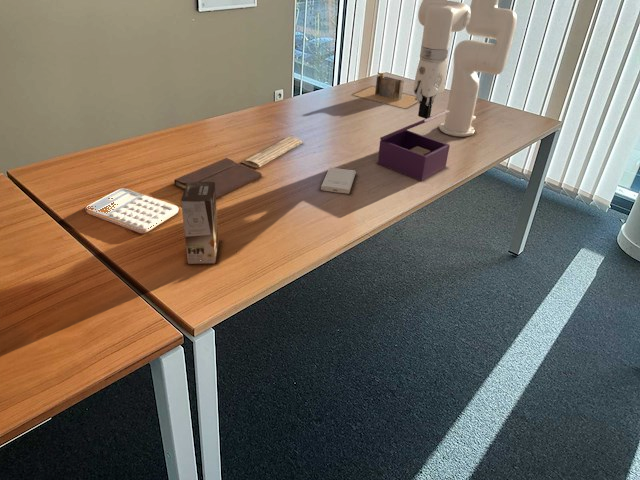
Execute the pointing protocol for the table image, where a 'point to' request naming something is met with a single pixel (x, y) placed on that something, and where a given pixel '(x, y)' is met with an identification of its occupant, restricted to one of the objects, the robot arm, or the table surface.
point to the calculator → (134, 210)
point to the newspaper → (272, 152)
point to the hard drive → (338, 180)
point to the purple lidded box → (413, 154)
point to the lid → (415, 124)
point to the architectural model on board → (388, 92)
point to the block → (420, 150)
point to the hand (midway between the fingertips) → (423, 116)
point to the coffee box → (200, 222)
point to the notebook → (221, 176)
